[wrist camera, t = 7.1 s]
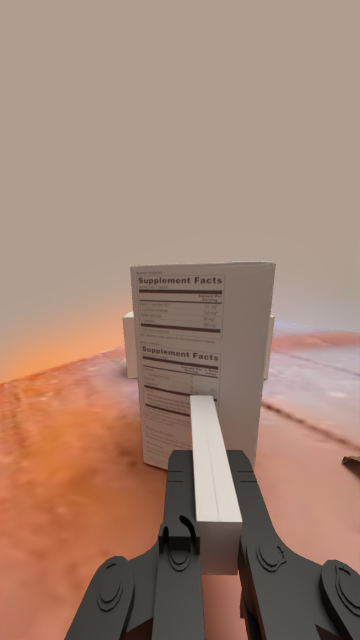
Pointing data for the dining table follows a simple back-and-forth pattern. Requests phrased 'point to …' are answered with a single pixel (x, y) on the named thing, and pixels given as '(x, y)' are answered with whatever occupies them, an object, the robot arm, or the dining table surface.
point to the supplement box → (200, 350)
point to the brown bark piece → (351, 457)
